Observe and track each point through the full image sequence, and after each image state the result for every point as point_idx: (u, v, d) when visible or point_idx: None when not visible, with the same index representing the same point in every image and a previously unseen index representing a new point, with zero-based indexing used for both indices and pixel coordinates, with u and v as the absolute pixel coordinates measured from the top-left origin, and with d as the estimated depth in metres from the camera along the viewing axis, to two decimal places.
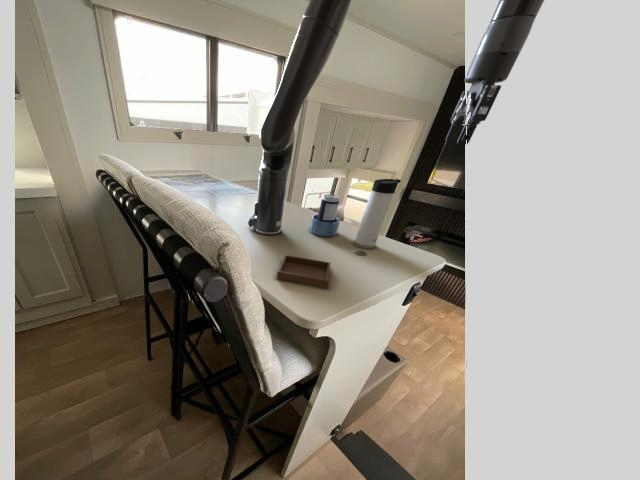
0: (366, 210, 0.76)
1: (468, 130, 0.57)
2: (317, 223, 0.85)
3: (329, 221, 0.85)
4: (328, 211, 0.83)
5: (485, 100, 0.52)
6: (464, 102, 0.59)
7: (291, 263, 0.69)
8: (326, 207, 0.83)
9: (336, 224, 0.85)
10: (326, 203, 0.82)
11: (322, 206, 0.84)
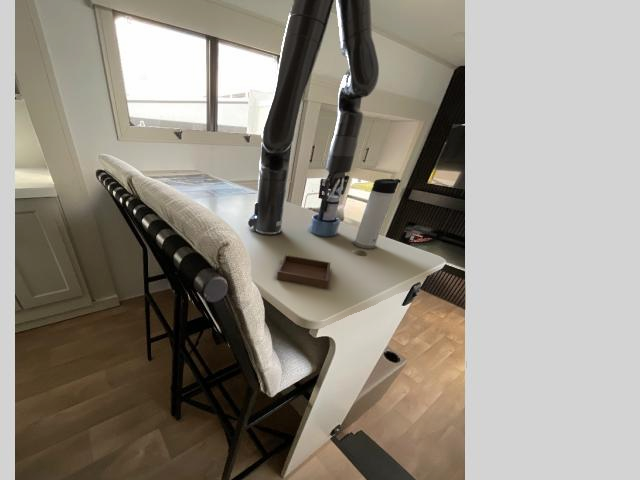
0: (366, 210, 0.76)
1: (322, 203, 0.82)
2: (317, 223, 0.85)
3: (329, 221, 0.85)
4: (328, 211, 0.83)
5: (321, 188, 0.78)
6: None
7: (291, 263, 0.69)
8: None
9: (336, 224, 0.85)
10: None
11: None
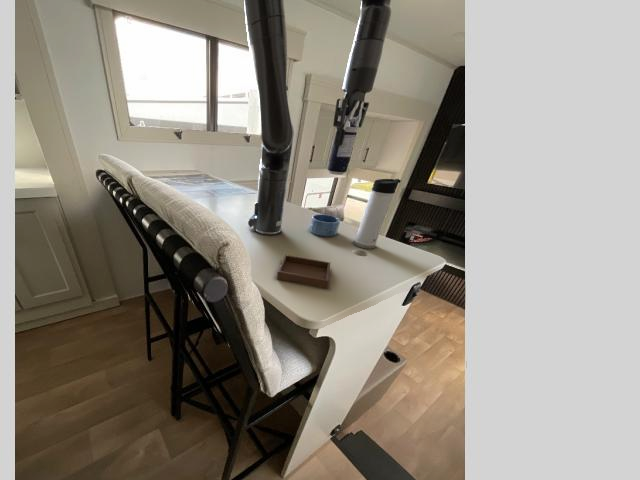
0: (366, 210, 0.76)
1: (337, 134, 0.70)
2: (317, 223, 0.85)
3: (344, 158, 0.73)
4: (344, 144, 0.71)
5: (337, 111, 0.66)
6: None
7: (291, 263, 0.69)
8: None
9: (336, 224, 0.85)
10: None
11: None
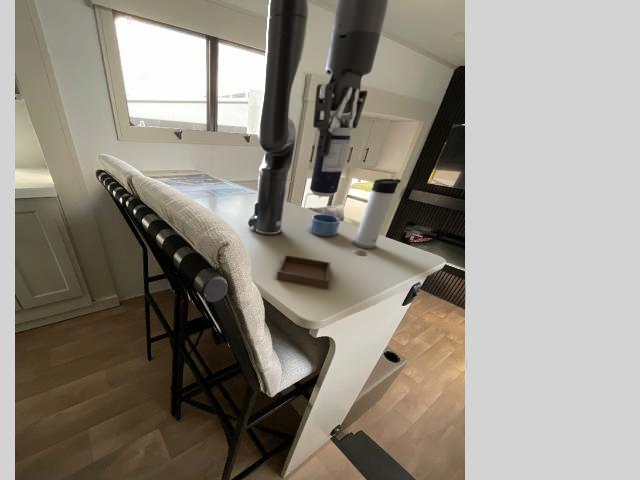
0: (366, 210, 0.76)
1: (320, 139, 0.47)
2: (317, 223, 0.85)
3: (333, 173, 0.50)
4: (331, 153, 0.48)
5: (319, 104, 0.42)
6: None
7: (291, 263, 0.69)
8: None
9: (336, 224, 0.85)
10: None
11: None
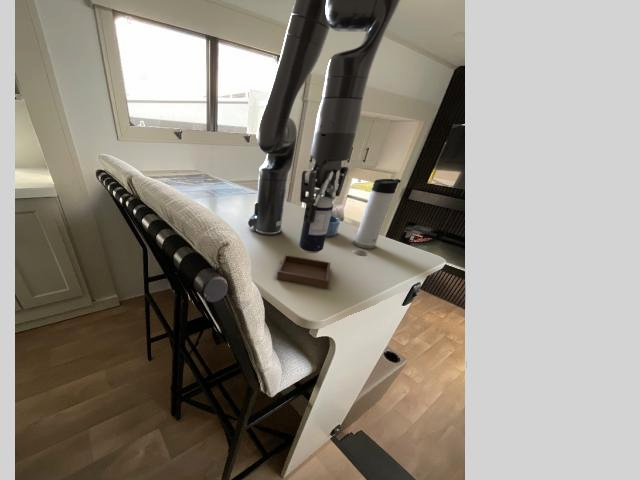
0: (366, 210, 0.76)
1: (306, 210, 0.53)
2: None
3: (318, 236, 0.56)
4: (317, 221, 0.54)
5: (304, 186, 0.49)
6: None
7: (291, 263, 0.69)
8: None
9: (336, 224, 0.85)
10: None
11: None
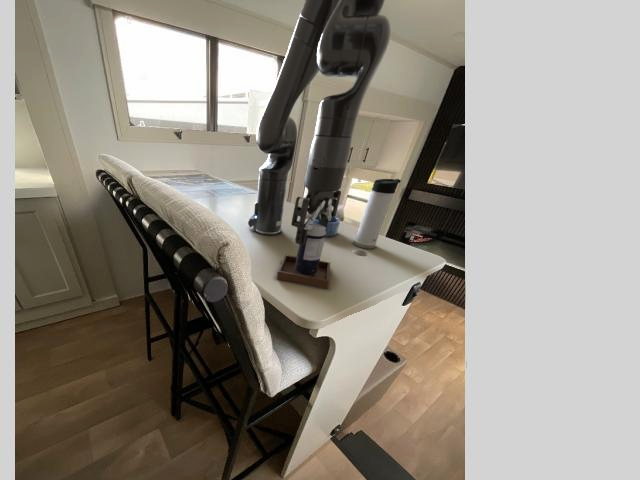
0: (366, 210, 0.76)
1: (298, 233, 0.55)
2: (317, 223, 0.85)
3: (312, 261, 0.60)
4: (310, 248, 0.58)
5: (297, 210, 0.51)
6: None
7: (291, 263, 0.69)
8: (307, 242, 0.58)
9: (336, 224, 0.85)
10: (307, 237, 0.57)
11: None
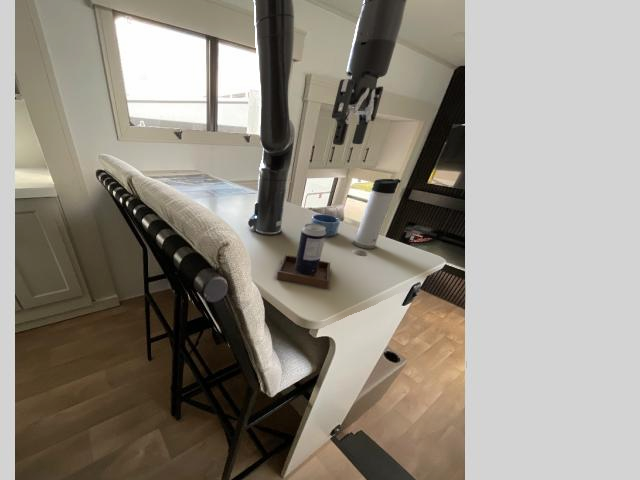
0: (366, 210, 0.76)
1: (337, 129, 0.52)
2: (317, 223, 0.85)
3: (312, 261, 0.60)
4: (310, 248, 0.58)
5: (340, 96, 0.48)
6: None
7: (291, 263, 0.69)
8: (307, 242, 0.58)
9: (336, 224, 0.85)
10: (307, 237, 0.57)
11: (302, 241, 0.59)
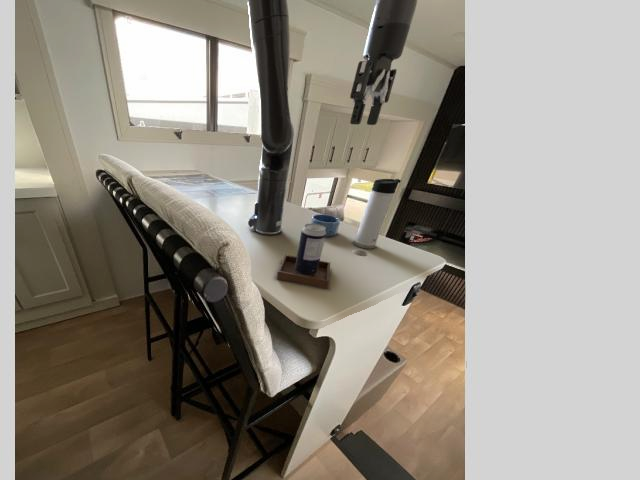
0: (366, 210, 0.76)
1: (355, 109, 0.55)
2: (317, 223, 0.85)
3: (312, 261, 0.60)
4: (310, 248, 0.58)
5: (358, 77, 0.51)
6: None
7: (291, 263, 0.69)
8: (307, 242, 0.58)
9: (336, 224, 0.85)
10: (307, 237, 0.57)
11: (302, 241, 0.59)
